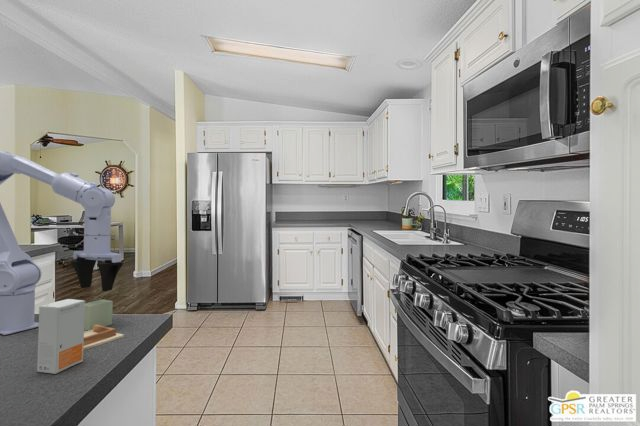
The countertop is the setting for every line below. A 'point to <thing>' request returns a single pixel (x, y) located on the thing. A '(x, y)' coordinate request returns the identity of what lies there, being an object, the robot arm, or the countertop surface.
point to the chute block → (98, 313)
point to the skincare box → (60, 335)
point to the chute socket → (99, 336)
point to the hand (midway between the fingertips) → (96, 289)
